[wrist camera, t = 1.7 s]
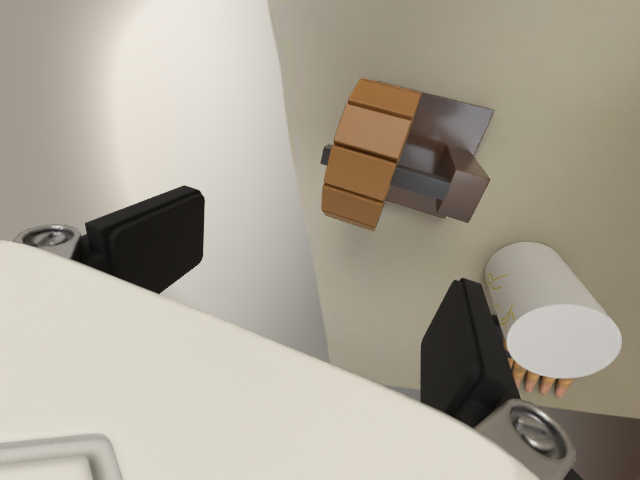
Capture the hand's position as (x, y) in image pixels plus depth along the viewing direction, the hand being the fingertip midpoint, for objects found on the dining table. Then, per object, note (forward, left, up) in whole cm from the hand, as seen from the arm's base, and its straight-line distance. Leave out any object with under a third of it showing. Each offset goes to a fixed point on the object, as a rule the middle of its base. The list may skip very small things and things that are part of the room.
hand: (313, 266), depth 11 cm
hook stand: (0, +3, -28) cm, 28 cm away
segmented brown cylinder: (0, -1, -19) cm, 19 cm away
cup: (+10, +20, -28) cm, 36 cm away
